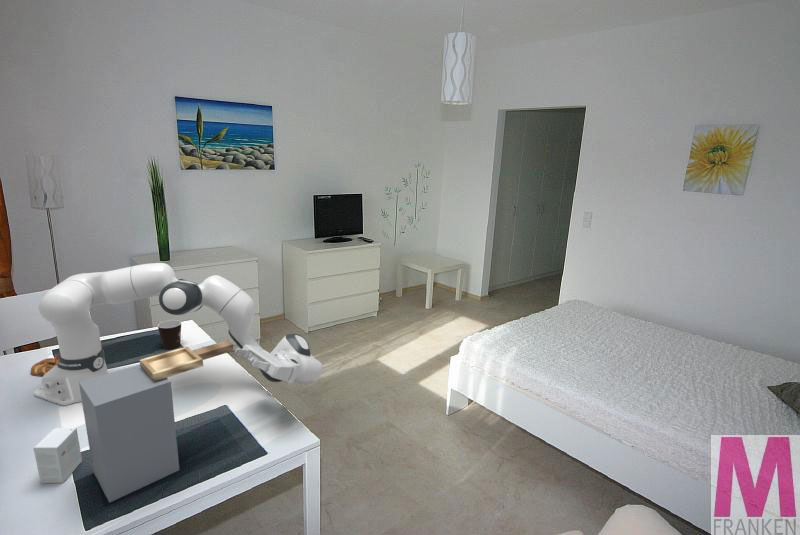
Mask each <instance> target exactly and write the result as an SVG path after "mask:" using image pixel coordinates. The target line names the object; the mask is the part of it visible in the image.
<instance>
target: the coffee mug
mask: <svg viewBox="0 0 800 535" xmlns="http://www.w3.org/2000/svg"><path fill="white" fill-rule="evenodd" d="M157 328H158V333H159V337H160V341H161V345H162V349H163V350H166V351H173V350H176V349H179V348H180V347H181V342H182V341H181V335H182V321H181V320H177V319H169V320H164V321H163V320H162V321H161V322H159V323H158V324H157Z"/></svg>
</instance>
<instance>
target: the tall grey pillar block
mask: <svg viewBox="0 0 800 535" xmlns="http://www.w3.org/2000/svg"><path fill="white" fill-rule="evenodd" d="M79 386H80V393H81V399H82V401H81V403H82V404H81V405H82V410H83V418H84V422H85V428H86V429H85V430H86V434H87V442H88V447H89V453H90V454H89V455H90V458H91V459H90V460H91V466H92V472H93V474H94V476H95V478H96V481H98V483H99V486H100V487H101V490H102V491H103V493H104V496H105V498H106V499H107V501H108V503H112V502H114V501H116V500H118V499H120V498H123V497H125V496H127V495H129V494H132V493H134V492H135V491H137V490H141V489H142V488H144V487H146V486H149V485H150V484H153V483H155V482H157V481H159V480H162V479H163V478H166V477H168V476H169V475H170V476H171V475H172V474H174V473H176V472H178V471H180V462H179V460H180V459H179V452H178V442H177V433H176V431H177V430H176V422H175V413H174V412H175V410H174V401H173V393H172V382H171V380H170V379H169V377H167V378H164V379H161V380H158V381H155V382H154V381H153V380H152V379H151V378H150V377H149V376H148V374H147V373H146V372H145V371H144V370H143V369H142V368H141V367H140V364H137V365H134V366H129V367H126V368H122V369H119V370H116V371H112V372H108V374H105V375H101V376H98V377H94V378H91V379H87V380H84V381H80V382H79Z"/></svg>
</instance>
